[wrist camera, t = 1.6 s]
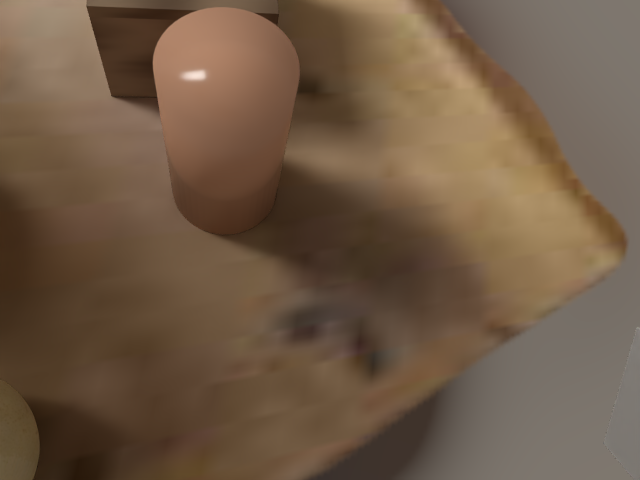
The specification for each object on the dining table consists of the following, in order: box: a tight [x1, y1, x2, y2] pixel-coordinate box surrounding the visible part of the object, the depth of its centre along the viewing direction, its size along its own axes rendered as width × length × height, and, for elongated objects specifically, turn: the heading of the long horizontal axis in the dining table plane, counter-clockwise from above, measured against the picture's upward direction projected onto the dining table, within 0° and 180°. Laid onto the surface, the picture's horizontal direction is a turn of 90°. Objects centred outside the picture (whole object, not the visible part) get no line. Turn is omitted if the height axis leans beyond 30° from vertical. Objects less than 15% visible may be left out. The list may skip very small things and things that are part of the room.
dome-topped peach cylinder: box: [153, 7, 300, 235], centre depth 32 cm, size 6×6×12 cm
